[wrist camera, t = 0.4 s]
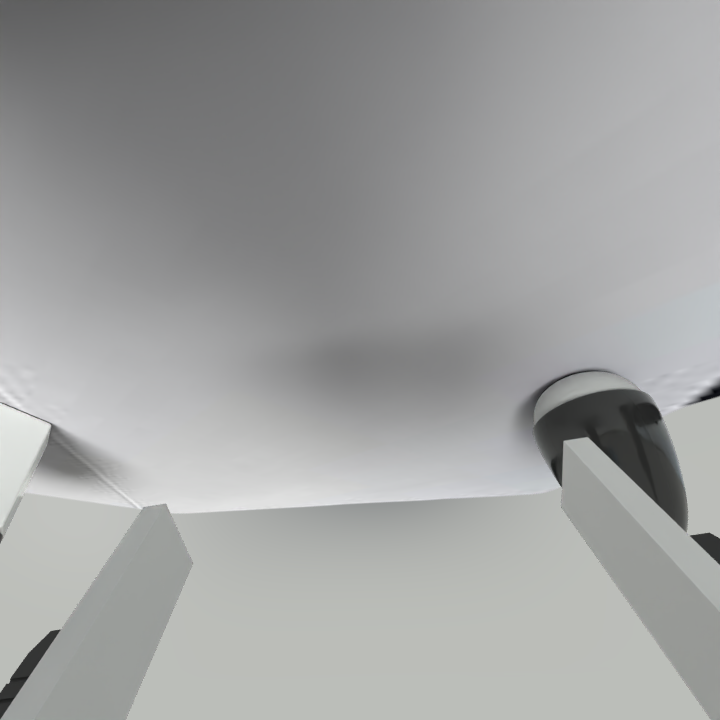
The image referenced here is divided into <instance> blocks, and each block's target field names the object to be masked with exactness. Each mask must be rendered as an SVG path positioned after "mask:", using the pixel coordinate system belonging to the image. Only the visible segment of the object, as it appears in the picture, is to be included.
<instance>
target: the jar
mask: <svg viewBox="0 0 720 720" xmlns="http://www.w3.org/2000/svg"><path fill="white" fill-rule="evenodd" d="M50 430H51V424H50V423H47V422H45V421H43V420H40V419H38V418H35V417H33V416H31V415H28V414H26V413H24V412H21V411H19V410H16V409H14V408H12V407H9V406H7V405H5V404H2V403H0V543H1V540H2V539H3V538H4V535H5V533H6V531H7V529H8V527H9V525H10V523H11V521H12V519H13V516H14V514H15V512H16V510H17V508H18V506H19V504H20V502H21V499H22V497H23V495H24V493H25V491H26V489H27V487H28V485H29V483H30V481H31V478H32V476H33V474H34V472H35V470H36V468H37V466H38V464H39V461H40V459H41V457H42V455H43V453H44V451H45V449H46V447H47V445H48V440H49V435H50Z"/></svg>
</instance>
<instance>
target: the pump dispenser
mask: <svg viewBox="0 0 720 720" xmlns="http://www.w3.org/2000/svg"><path fill="white" fill-rule="evenodd" d="M533 437H534V440H535V442H536V445H537V447H538V449H539V451H540V453H541V455H542V456H543V458H544V460H545V462H546V463H547V465H548V467H549V469H550V470H551V472H552V474H553V475H554V477H555V478H556V480H557V481H558V483H559V484H560V486H561V487H562V470H563V442H564V441H566V440H572V439H578V438H585V437H588V438H589V439H590V440H591V441H592V442H593V443H594V444H595V445H596V446H597V447H598V448H600V449H601V450H602V451H603V452H604V453H605V454H606V455H607V456H608V457H609V458H610V459H611V460H612V461H613V462H614V463H615V464H616V465H617V466H618V467H619V468H620V469H621V470H622V471H623V472H624V473H625V474H626V475H627V476H628V477H629V478H630V479H632V480H633V481H634V482H635V483H636V484H637V485H638V486H639V487H640V488H641V489H642V490H643V491H644V492H645V493H646V494H647V495H648V496H649V497H650V498H651V499H652V500H653V501H654V502H655V503H656V504H657V505H658V506H659V507H660V508H661V509H662V510H664V511H665V512H666V513H667V514H668V515H669V516H670V517H671V518H672V519H673V520H674V521H675V522H676V523H677V524H678V525H679V526H680V527H681V528H682V529H683V530H684V531H685V532H686V533H687V525H688V507H687V498H686V492H685V487H684V482H683V478H682V474H681V470H680V466H679V462H678V458H677V455H676V452H675V448H674V445H673V442H672V440H671V437H670V434H669V432H668V429H667V427H666V424H665V422H664V420H663V417H662V415H661V413H660V411H659V409H658V407H657V405H656V404H655V402H654V400H653V399H652V398H651V396H650V395H648V394H647V393H645V392H642V391H641V390H640V389H639V388H638V387H637V386H635V385H634V384H633V383H631V382H630V381H628V380H627V379H625V378H623V377H620V376H618V375H615V374H612V373H607V372H597V371H594V372H583V373H578V374H574V375H571V376H568V377H566V378H563V379H561V380H559V381H557V382H556V383H554V384H553V385H551V386H550V387H549V388H548V389H546V390H545V391H544V392H543V394H542V395H541V396H540V398H539V399H538V401H537V404H536V406H535V410H534V428H533Z"/></svg>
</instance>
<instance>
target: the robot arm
mask: <svg viewBox="0 0 720 720" xmlns="http://www.w3.org/2000/svg"><path fill="white" fill-rule="evenodd" d="M561 508H562V509H563V511H564V512H565V513H566V515H567V516H568V518H569V519H570V521H571V522H572V523H573V525H574V526H575V528H576V529H577V530H578V532H579V533H580V535H581V536H582V537H583V539H584V540H585V542H586V543H587V545H588V546H589V547H590V549H591V550H592V551H593V553H594V554H595V556H596V557H597V559H598V560H599V562H600V563H601V564H602V566H603V567H604V569H605V570H606V572H607V573H608V574H609V576H610V577H611V579H612V580H613V581H614V583H615V584H616V586H617V587H618V589H619V590H620V591H621V593H622V594H623V596H624V597H625V599H626V600H627V601H628V603H629V604H630V606H631V607H632V608H633V610H634V611H635V613H636V614H637V616H638V617H639V618H640V619H641V621H642V623H643V624H644V626H645V627H646V628H647V630H648V631H649V633H650V634H651V635H652V637H653V638H654V640H655V641H656V642H657V644H658V645H659V647H660V648H661V650H662V651H663V652H664V654H665V655H666V657H667V658H668V659H669V661H670V662H671V663H672V665H673V667H674V668H675V669H676V671H677V672H678V674H679V675H680V677H681V678H682V679H683V681H684V682H685V684H686V685H687V687H688V688H689V689H690V690H691V692H692V693H693V695H694V696H695V698H696V699H697V701H698V702H699V703H700V705H701V706H702V708H703V709H704V711H705V712H706V713H707V715H708V716H709V718H710V719H711V720H720V539H719V538H718V537H716V536H714V535H713V534H711V533H705V534H698V535H691V536H689V535H688V534H687V533H686V532H685V531H684V530H683V529H682V528H681V527H680V526H679V525H678V524H677V523H676V522H675V521H674V520H673V519H672V518H671V517H670V516H669V515H668V514H667V513H666V512H665V511H664V510H662V509H661V508H660V507H659V506H658V505H657V504H656V503H655V502H654V501H653V500H652V499H651V498H650V497H649V496H648V495H647V494H646V493H645V492H644V491H643V490H642V489H641V488H640V487H639V486H638V485H637V484H636V483H635V482H634V481H633V480H632V479H630V478H629V477H628V476H627V475H626V474H625V473H624V472H623V471H622V470H621V469H620V468H619V467H618V466H617V465H616V464H615V463H614V462H613V461H612V460H611V459H610V458H609V457H608V456H607V455H606V454H605V453H604V452H603V451H602V450H601V449H600V448H598V447H597V446H596V445H595V444H594V443H593V442H592V441H591V440H590V439H589V438H588V437H585V438H578V439H572V440H566V441H564V442H563V470H562V499H561ZM192 565H193V562H192V560H191V557H190V555H189V553H188V551H187V549H186V547H185V544H184V542H183V540H182V538H181V536H180V533H179V531H178V529H177V527H176V525H175V523H174V520H173V518H172V516H171V514H170V512H169V509H168V507H167V505H166V504H161V505H155V506H148V507H143V509H142V510H141V512H140V513H139V515H138V516H137V518H136V519H135V521H134V522H133V524H132V525H131V527H130V528H129V530H128V531H127V533H126V534H125V536H124V537H123V539H122V540H121V542H120V543H119V545H118V546H117V547H116V549H115V550H114V552H113V554H112V555H111V556H110V558H109V559H108V561H107V562H106V564H105V565H104V567H103V568H102V570H101V571H100V573H99V574H98V576H97V577H96V578H95V580H94V581H93V583H92V584H91V586H90V588H89V589H88V591H87V592H86V593H85V595H84V597H83V598H82V599H81V601H80V602H79V604H78V605H77V607H76V608H75V610H74V611H73V613H72V614H71V616H70V617H69V619H68V620H67V622H66V623H65V624H64V626H63V627H62V629H61V630H55V631H51V632H50V633H49V634H48V635H47V636H46V637H45V638H44V639H43V640H42V641H41V642H40V643H39V644H37V646H36V647H35V648H33V650H31V652H29V653H28V655H27V656H26V658H25V659H24V660H23V662H22V663H21V665H20V666H19V667H18V669H17V670H16V672H15V673H14V674H13V676H12V677H11V679H10V683H9V684H6V686H5V687H4V688H3V690H2V691H1V693H0V720H126V718H127V716H128V713H129V711H130V709H131V706H132V704H133V702H134V699H135V697H136V695H137V692H138V690H139V688H140V686H141V683H142V681H143V679H144V676H145V674H146V672H147V669H148V667H149V665H150V662H151V660H152V658H153V655H154V653H155V651H156V648H157V646H158V644H159V641H160V639H161V637H162V635H163V632H164V630H165V628H166V625H167V623H168V621H169V618H170V616H171V614H172V611H173V609H174V606H175V604H176V602H177V600H178V597H179V595H180V593H181V591H182V588H183V586H184V583H185V581H186V579H187V577H188V574H189V572H190V570H191V567H192Z"/></svg>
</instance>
